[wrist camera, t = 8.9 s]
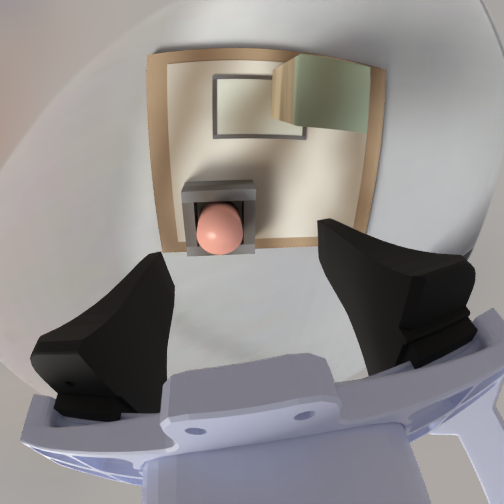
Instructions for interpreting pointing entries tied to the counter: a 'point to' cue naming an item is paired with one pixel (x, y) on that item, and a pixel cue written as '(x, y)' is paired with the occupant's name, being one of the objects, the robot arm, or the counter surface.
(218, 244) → the button
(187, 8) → the counter surface
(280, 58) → the brown framed board
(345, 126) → the green topped wooden block
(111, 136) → the counter surface
